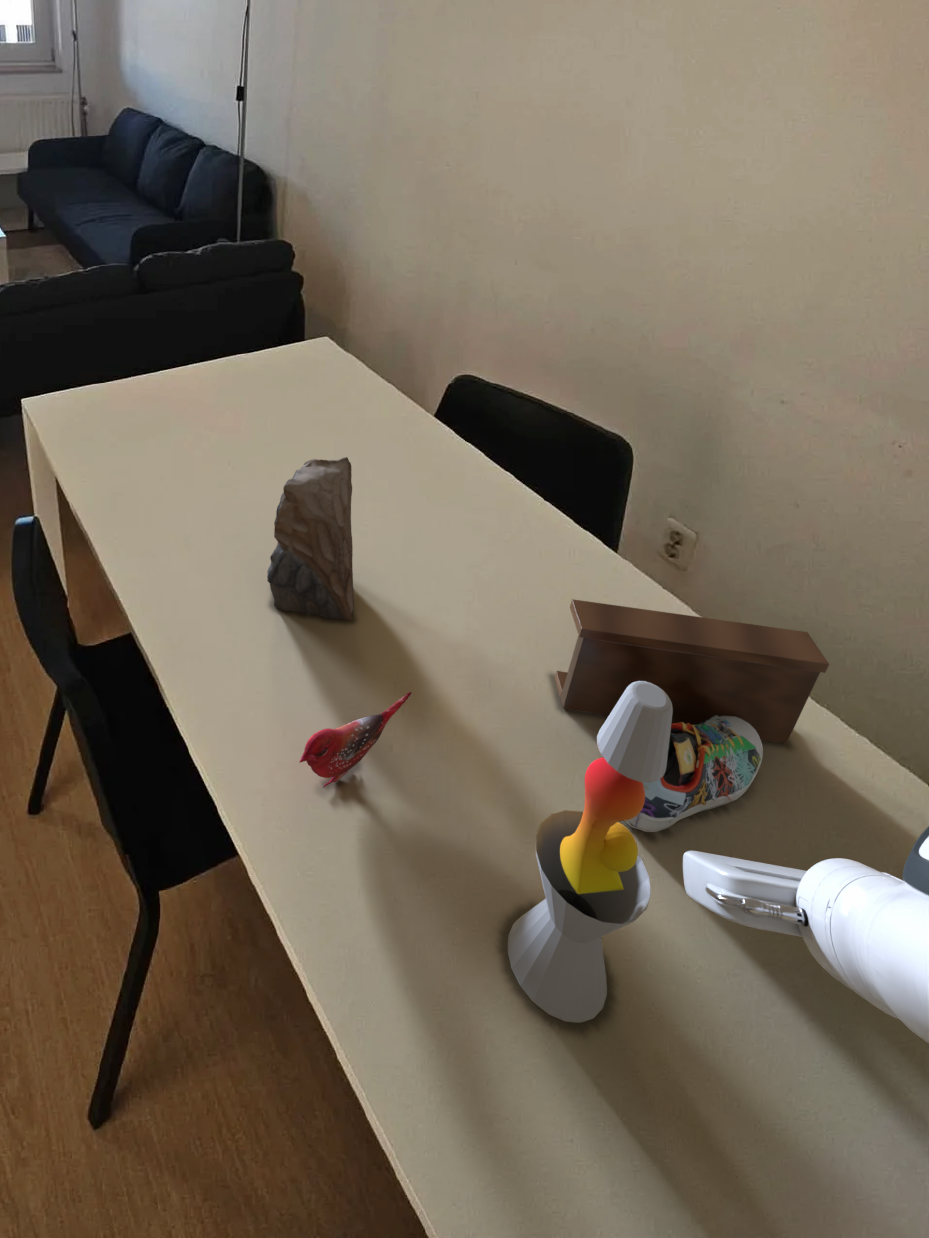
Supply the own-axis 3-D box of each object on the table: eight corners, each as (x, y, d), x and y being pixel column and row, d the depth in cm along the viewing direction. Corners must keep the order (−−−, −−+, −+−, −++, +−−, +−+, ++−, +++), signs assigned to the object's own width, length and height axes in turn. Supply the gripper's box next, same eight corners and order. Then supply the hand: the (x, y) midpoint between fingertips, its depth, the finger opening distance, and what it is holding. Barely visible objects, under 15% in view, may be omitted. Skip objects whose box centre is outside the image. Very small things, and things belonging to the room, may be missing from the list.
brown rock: (264, 610, 109) (271, 496, 101) (273, 550, 120) (281, 444, 112) (352, 623, 107) (367, 508, 99) (354, 561, 119) (367, 454, 111)
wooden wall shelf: (772, 710, 96) (807, 631, 91) (791, 744, 92) (829, 664, 87) (550, 676, 100) (571, 598, 95) (558, 708, 96) (581, 628, 90)
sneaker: (778, 773, 88) (805, 715, 84) (655, 858, 79) (680, 798, 75) (715, 720, 94) (738, 664, 90) (595, 794, 86) (615, 735, 82)
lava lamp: (532, 1030, 66) (628, 756, 52) (489, 913, 74) (563, 649, 60) (630, 1019, 67) (750, 747, 53) (577, 905, 75) (669, 643, 61)
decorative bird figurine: (286, 799, 84) (291, 737, 80) (397, 718, 93) (406, 659, 89) (303, 821, 82) (309, 758, 78) (414, 736, 91) (425, 676, 87)
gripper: (729, 952, 60) (655, 892, 73) (1022, 1009, 57) (891, 936, 70) (722, 857, 62) (651, 816, 75) (1003, 908, 59) (880, 856, 72)
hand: (769, 874), depth 72 cm, fingers closed
